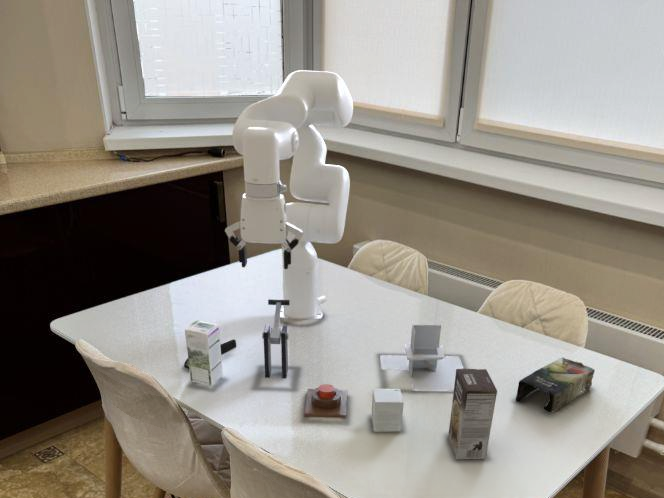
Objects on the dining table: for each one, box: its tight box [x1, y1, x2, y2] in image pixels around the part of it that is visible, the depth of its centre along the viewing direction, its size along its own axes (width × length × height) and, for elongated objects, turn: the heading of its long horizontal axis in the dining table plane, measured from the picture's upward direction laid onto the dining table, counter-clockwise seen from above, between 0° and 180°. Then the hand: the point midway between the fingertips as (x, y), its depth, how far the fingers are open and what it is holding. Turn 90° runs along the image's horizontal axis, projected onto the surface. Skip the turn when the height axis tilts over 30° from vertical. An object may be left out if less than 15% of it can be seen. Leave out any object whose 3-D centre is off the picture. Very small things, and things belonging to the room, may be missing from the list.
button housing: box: [303, 387, 348, 419], centre depth 153 cm, size 11×9×4 cm
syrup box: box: [184, 320, 224, 387], centre depth 158 cm, size 6×6×14 cm
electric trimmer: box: [183, 338, 237, 372], centre depth 171 cm, size 4×16×3 cm, turn 142°
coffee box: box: [448, 368, 498, 460], centre depth 139 cm, size 9×6×16 cm
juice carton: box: [515, 356, 595, 414], centre depth 162 cm, size 20×10×6 cm, turn 136°
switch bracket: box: [261, 324, 290, 379], centre depth 162 cm, size 11×9×13 cm
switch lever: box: [267, 298, 290, 345], centre depth 162 cm, size 12×5×2 cm, turn 0°
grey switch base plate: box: [379, 324, 465, 393], centre depth 167 cm, size 19×21×12 cm
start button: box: [317, 383, 336, 398], centre depth 152 cm, size 4×4×2 cm
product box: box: [370, 388, 405, 433], centre depth 148 cm, size 6×6×7 cm
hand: (265, 266), depth 158 cm, fingers open, 9 cm apart
